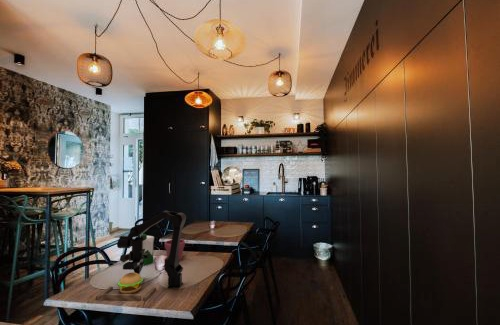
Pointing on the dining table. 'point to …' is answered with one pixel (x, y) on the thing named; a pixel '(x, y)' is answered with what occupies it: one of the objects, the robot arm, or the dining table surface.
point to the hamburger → (130, 283)
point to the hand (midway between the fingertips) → (137, 276)
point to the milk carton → (148, 248)
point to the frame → (123, 295)
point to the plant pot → (181, 246)
